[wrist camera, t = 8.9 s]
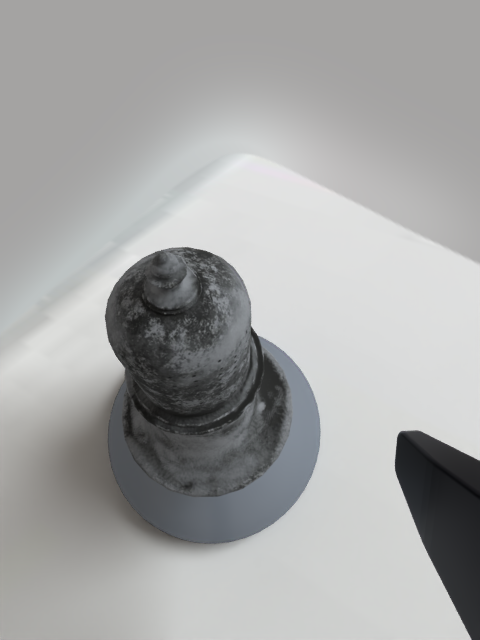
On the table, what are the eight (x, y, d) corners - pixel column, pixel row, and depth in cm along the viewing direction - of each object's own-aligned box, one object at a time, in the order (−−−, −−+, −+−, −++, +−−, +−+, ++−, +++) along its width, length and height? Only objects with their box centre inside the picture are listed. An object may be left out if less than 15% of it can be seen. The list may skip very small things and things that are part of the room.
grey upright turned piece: (115, 441, 16) (-122, 291, 6) (203, 338, 19) (149, 88, 8) (227, 537, 15) (185, 572, 4) (310, 411, 17) (422, 221, 6)
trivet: (132, 575, 15) (126, 578, 14) (100, 362, 19) (95, 356, 18) (350, 500, 16) (355, 500, 15) (278, 314, 20) (279, 306, 19)
